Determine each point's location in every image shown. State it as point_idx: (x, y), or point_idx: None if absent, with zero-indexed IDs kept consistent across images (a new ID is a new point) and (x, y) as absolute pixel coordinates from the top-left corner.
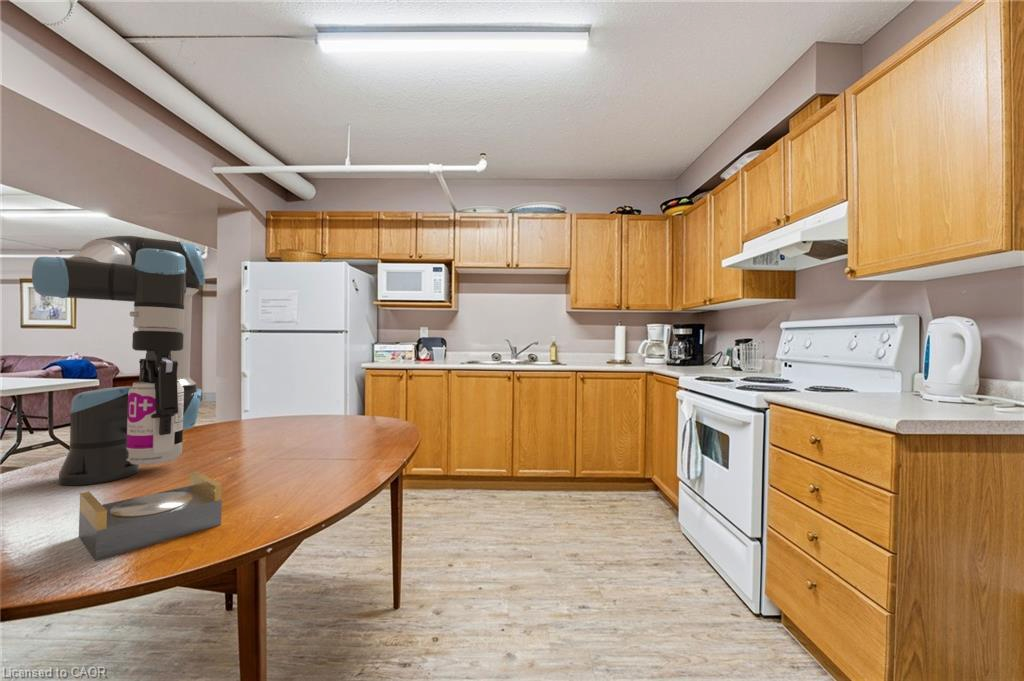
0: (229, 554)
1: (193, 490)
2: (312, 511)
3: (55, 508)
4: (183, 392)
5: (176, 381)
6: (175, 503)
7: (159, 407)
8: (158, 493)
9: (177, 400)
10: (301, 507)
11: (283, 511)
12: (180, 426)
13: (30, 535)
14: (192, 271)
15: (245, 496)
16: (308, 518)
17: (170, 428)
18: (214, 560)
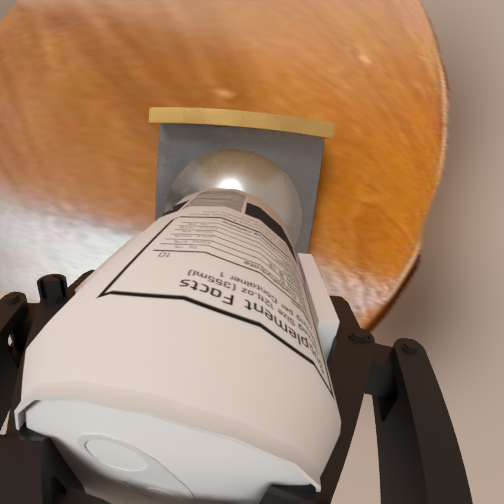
0: (430, 185)
1: (204, 131)
2: (392, 21)
3: (27, 259)
4: (268, 329)
5: (464, 480)
6: (277, 195)
7: (376, 412)
8: (173, 190)
9: (438, 384)
10: (358, 13)
11: (350, 37)
12: (279, 242)
13: None
14: None
15: (197, 30)
16: (414, 46)
17: (349, 309)
18: (428, 205)
